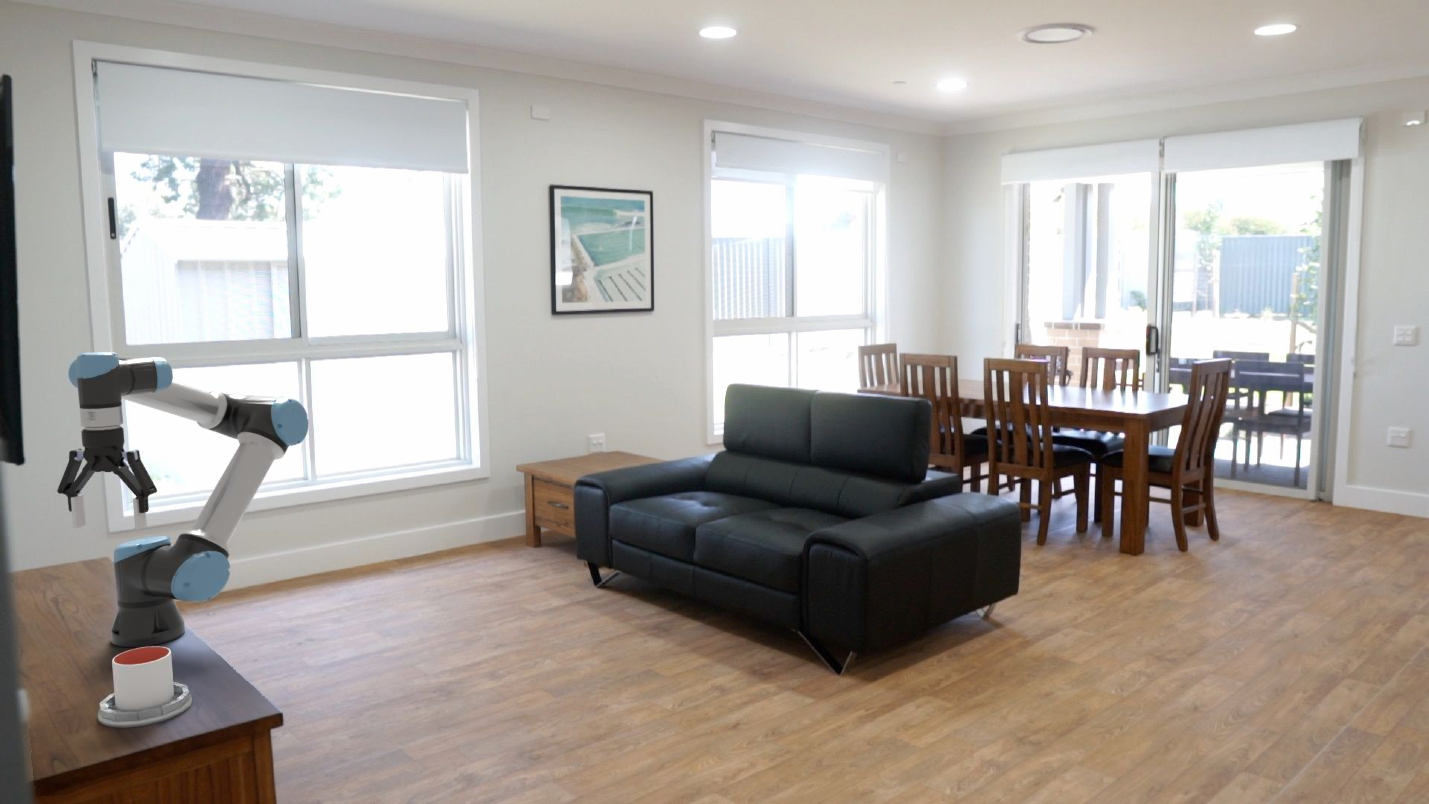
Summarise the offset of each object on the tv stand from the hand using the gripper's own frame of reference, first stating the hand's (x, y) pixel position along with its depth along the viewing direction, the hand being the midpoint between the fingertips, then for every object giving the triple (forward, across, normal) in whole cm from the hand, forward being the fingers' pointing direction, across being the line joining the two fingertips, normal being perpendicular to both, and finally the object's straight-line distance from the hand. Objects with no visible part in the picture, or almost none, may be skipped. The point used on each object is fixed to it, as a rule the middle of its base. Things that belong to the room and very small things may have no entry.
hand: (110, 527), depth 213 cm
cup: (+31, +17, -17) cm, 39 cm away
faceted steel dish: (+32, +17, -17) cm, 40 cm away
